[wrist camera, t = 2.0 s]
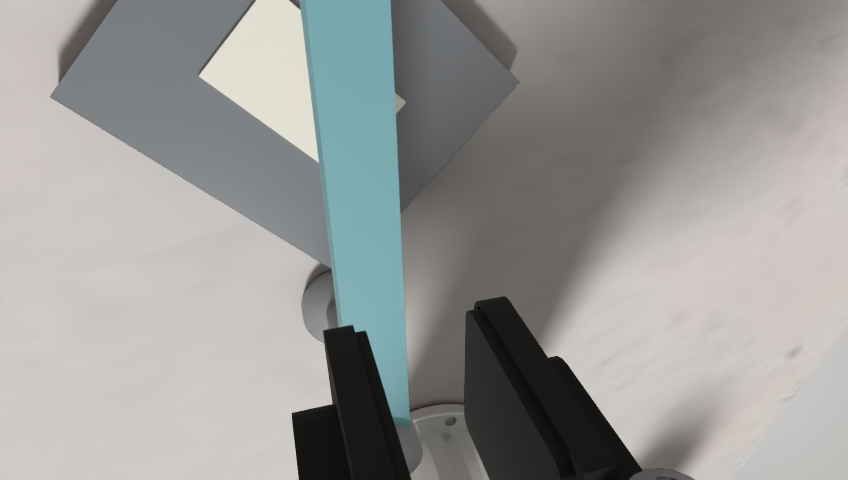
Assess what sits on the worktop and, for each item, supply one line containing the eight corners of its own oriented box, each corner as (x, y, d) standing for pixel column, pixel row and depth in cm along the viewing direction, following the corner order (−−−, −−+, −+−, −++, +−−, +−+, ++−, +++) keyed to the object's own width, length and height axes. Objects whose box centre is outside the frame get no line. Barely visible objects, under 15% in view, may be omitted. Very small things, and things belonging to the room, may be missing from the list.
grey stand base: (557, 125, 34) (649, 191, 26) (348, 347, 38) (377, 459, 30) (252, -190, 23) (261, -229, 16) (4, 163, 27) (-82, 266, 20)
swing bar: (407, 426, 29) (423, 476, 27) (342, 441, 29) (353, 493, 26) (381, -100, 18) (405, -98, 15) (272, -97, 17) (279, -95, 15)
